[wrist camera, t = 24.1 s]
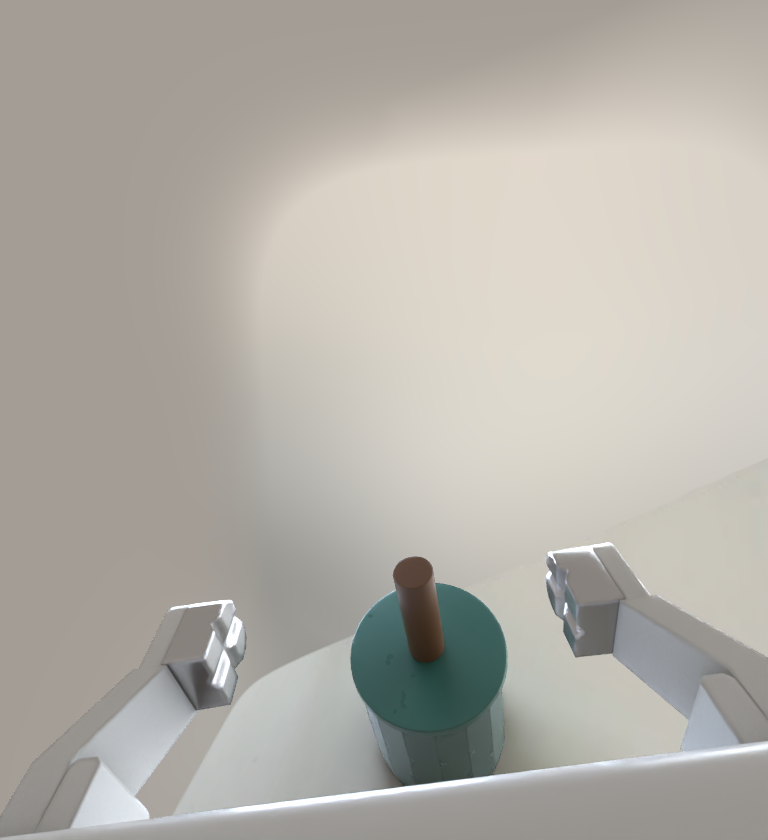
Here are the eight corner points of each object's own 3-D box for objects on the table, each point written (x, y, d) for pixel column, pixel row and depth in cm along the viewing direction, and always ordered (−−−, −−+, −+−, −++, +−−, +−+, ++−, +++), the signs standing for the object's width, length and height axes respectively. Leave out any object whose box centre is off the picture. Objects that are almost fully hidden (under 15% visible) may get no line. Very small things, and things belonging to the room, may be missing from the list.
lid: (334, 729, 28) (300, 646, 24) (372, 589, 37) (352, 512, 33) (512, 755, 25) (508, 665, 21) (504, 595, 35) (500, 513, 31)
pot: (365, 787, 32) (338, 717, 28) (389, 655, 41) (372, 587, 37) (507, 811, 30) (502, 739, 25) (501, 665, 38) (496, 593, 34)
